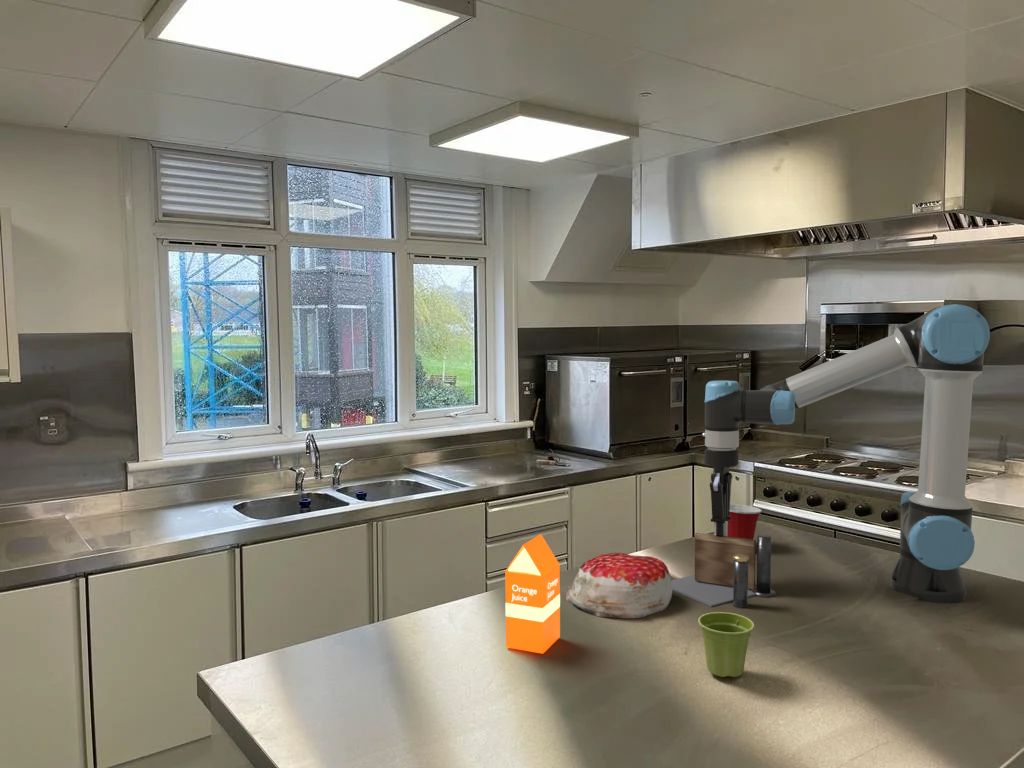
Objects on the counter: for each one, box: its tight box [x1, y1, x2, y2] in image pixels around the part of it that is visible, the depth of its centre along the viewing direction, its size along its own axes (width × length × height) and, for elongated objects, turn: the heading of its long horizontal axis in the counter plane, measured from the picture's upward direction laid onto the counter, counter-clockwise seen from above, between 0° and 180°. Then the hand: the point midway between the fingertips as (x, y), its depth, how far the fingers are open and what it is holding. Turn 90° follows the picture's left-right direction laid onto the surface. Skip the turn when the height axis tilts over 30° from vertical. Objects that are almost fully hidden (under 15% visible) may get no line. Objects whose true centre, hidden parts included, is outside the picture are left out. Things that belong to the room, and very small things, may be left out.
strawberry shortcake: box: [565, 552, 674, 619], centre depth 171 cm, size 23×24×10 cm
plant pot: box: [697, 611, 755, 678], centre depth 134 cm, size 9×9×9 cm
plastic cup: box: [726, 503, 763, 540], centre depth 207 cm, size 11×11×12 cm
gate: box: [694, 532, 757, 589], centre depth 177 cm, size 14×1×11 cm, turn 60°
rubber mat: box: [671, 574, 757, 608], centre depth 177 cm, size 17×17×1 cm
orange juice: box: [504, 533, 561, 654], centre depth 147 cm, size 8×9×20 cm
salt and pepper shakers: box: [732, 534, 776, 609], centre depth 170 cm, size 7×14×13 cm, turn 120°
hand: (720, 549), depth 179 cm, fingers closed
